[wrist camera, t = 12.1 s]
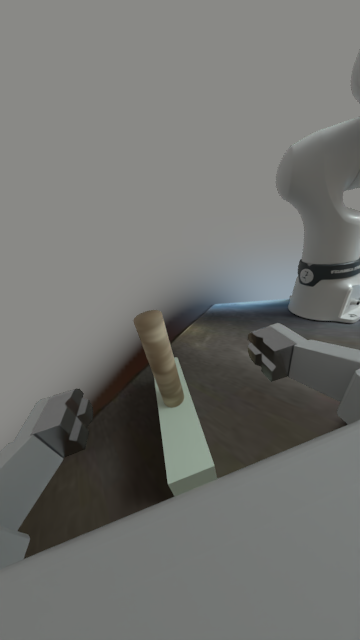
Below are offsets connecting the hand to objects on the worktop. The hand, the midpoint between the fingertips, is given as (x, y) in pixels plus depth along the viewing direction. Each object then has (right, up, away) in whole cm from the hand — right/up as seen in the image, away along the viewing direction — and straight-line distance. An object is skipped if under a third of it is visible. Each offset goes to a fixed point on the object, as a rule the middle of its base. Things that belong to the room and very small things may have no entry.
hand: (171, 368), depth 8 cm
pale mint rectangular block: (+1, -15, +20) cm, 25 cm away
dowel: (0, -9, +17) cm, 20 cm away
